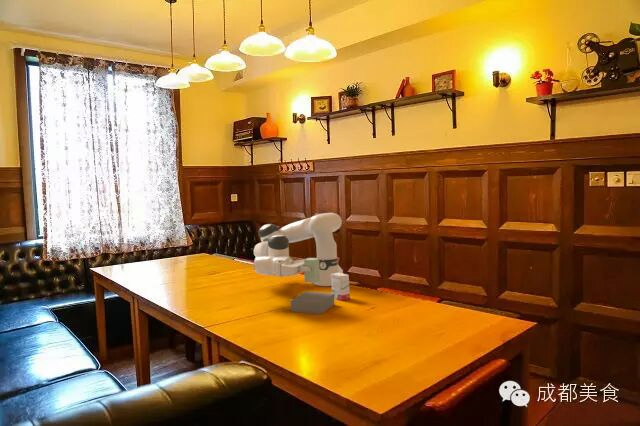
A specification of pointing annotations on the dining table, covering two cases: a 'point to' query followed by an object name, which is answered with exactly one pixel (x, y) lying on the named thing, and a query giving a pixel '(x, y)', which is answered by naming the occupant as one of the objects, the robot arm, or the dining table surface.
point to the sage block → (312, 270)
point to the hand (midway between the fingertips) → (313, 267)
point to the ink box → (340, 286)
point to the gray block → (312, 302)
